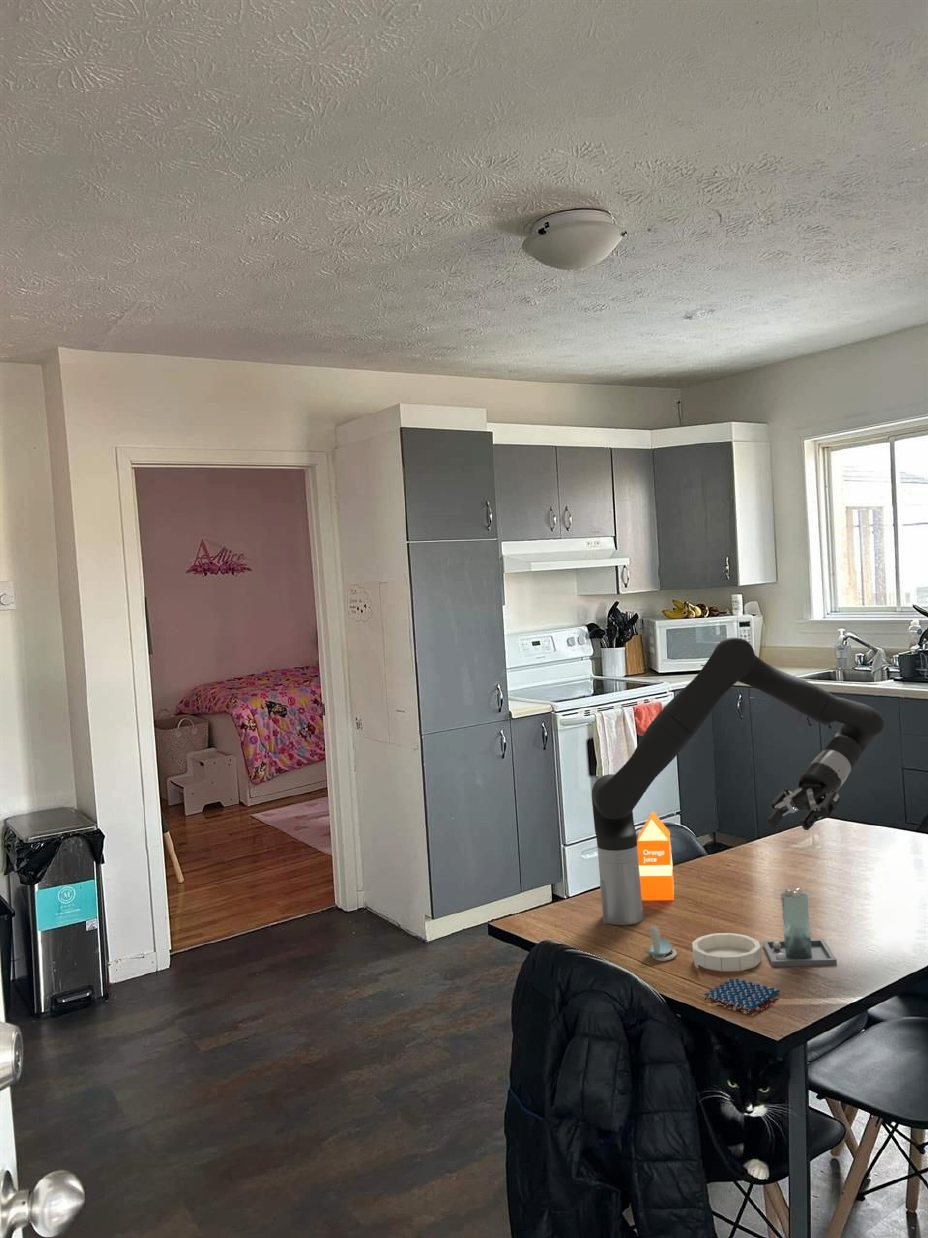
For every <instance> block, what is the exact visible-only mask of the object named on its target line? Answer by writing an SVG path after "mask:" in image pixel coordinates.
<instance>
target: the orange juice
mask: <svg viewBox="0 0 928 1238" xmlns="http://www.w3.org/2000/svg"><path fill="white" fill-rule="evenodd" d="M637 846H638V858H639V870H640V882H641V894H642V901H674V897H675V895H674V894H675V882H674V881H675V880H674V870H673V869H674V868H673V857H672V856H673V855H672V844H671V832H670V830H669V828H667V826H666V825H665V824H664V823H663V822H662V821H661V819H660V818H659V817H658V815H657V814H656V813H655V812H654V810H652V811H651V814H650V815H649V817H648V819H647V820H646V822H645V823H644V825H643V827H642V828H641V830H640V831H639V832H638V836H637Z"/></svg>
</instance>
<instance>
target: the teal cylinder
mask: <svg viewBox="0 0 928 1238" xmlns="http://www.w3.org/2000/svg"><path fill="white" fill-rule="evenodd" d="M780 900H781V901H780V902H781V914H782V927H783V939H784V941H785V954H786V956H787V957H788V958H791V959H809V958H811V957H812V948H811V939H812V937H811V926H810V925H811V924H810V915H809V914H810V912H809V902H808V901H809V899H808V893H806V892H803V890H801V888H797V887H796V888H794V889H793V890H792V889H786V890H784V892H783V893H781V894H780Z"/></svg>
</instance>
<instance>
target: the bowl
mask: <svg viewBox="0 0 928 1238" xmlns="http://www.w3.org/2000/svg"><path fill="white" fill-rule="evenodd" d="M691 948H692V957H693V964H694V967H695V968H697V969H699V966H700V967H702V968H704V969H706V970H712V971H717V972H740V971H741V972H742V971H746V970H749V969H752V968H755V967H757V966H758V965H759V964H760V963H761V962H762V947H761V944H760V942H759V940H757V939H756V938H753V937H751V936H748V935H745V934H740V933H733V932H725V933H724V932H721V933H719V932H718V933H710V934H705V935H703V936H699V937H697V938H696V939H695V940H694V941H692V942H691Z"/></svg>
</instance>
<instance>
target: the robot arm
mask: <svg viewBox="0 0 928 1238" xmlns="http://www.w3.org/2000/svg"><path fill="white" fill-rule="evenodd" d="M737 682H738V683H742V684H744V685H747V686H750V687H752V688H754V689H756V690H759V691H760V692H763V693H765V694H767V695H769V696H771V697H773V698H774V699H776V700H777V701H780V702H781V703H783V704H785V705H787V706H788V707H790V708H792V709H793V710H795V711H797V712H798V713H801V714H802V715H804V716H806V717H807V718H810V719H811V720H813V721H815V722H817V723H818V724H821V725H824V726H827V725H830V724H832V723H835V722H837V723H840V724H841V726H840V727H839V729H838V730H837V732H836V733H835V735H834V737H833V738H832V739H831V740H830V741H829V742H828V743H827V744H826V745H825V747H824V748H823V750H822V751H821V752H820V753H819V754H818V755H817V756H816V757H815V758H814V759H813V760H812V761H811V763H810V764H809V765H808V767H807V768H806V769H805V770H804V772H803V773H802V775H801V776H800V777H799V780H798V781H799V782H798V786H797V787H796V788H795V789H794V790H789V789H788V787H784V788H782V789H781V790H780V791H779V793H777V795H775V798H773V800H772V801H771V802H770V803H769V807H770V808H771V810H772V812H771V814H770V815H769V816H768V817H767V822H768V825H769V826H770V827H771V828H777V827H778V825H779V823H781V821H782V820H783V818H784V817H785V816H786V815H789V814H794V813H796V812H797V811H798V812H799V810H800V811H801V810H805V811H807V812H806V813H805V815H804V816H803V817H802V819H801V820H800V825H801V827H802V828H803V830H804V831H809V829H811V828H812V827H813V826H814V825H815V823H816V822H817V820H820V819H822V817H825V818H829V817H831V816H832V814H833V812H834V811H835V809H836V808H837V807H838V805H839V803H841V797H840V795H839V793H838V791H839V790H840V788H841V787H842V785H843V784H844V783H845V781H846V780H847V778H848V777H849V775H850V773H851V771H852V770H853V769H854V767H855V766H856V764H857V763H858V762H859V760H860V759H861V755H862V754H863V753H864V752H865V750H866V749H867V748H869V745H870V744H872V743H873V741H874V740H875V739H876V738H877V737H878V736H879V735H880V734H881V733H882V732H883V729H884V727H885V721H884V718H883V717H882V715H881V714H880V712H878V711H877V710H876V709H875V708H873V707H872V706H870V705H867V704H865V703H861V702H858V701H854V700H850V699H848V698H847V699H846V698H843V697H839V696H836V695H834V694H832V693H831V692H829V691H827V690H825V689H823V688H821V687H819V686H817V685H815V684H813V683H811V682H809V681H806V680H805V679H802V678H800V677H797V676H795V675H792V674H790V673H787V672H785V671H783V670H780V669H778V668H776V667H774V666H773V665H771V664H769V663H767V662H765V661H764V660H762V659H761V658H760V657H758V656H757V655H756V653H755V650H754V648H753V646H752V644H751V643H750V642H749V641H748V640H746V639H744V638H742V637H738V636H737V637H736V636H734V637H733V636H732V637H727V638H725V639H723V640H721V641H720V642H719V643H718V644H717V645H716V646H715V648H714V649H713V652H712V654H711V655H710V657H709V658H708V659H707V661H706V662H705V664H704V665H703V667H702V668H701V669H700V671H699V672H698V674H697V675H696V676H695V677H694V678H693V679H692V680H691V681H690V682H689V683H688V684H687V685H686V686H685V687H684V688H683V689H681V690H680V691H679V692H678V693H677V694H676V695H675V696H674V697H673V698H672V699H670V701H669V702H668V703H667V704H666V705H665V706H664V707H663V708H662V709H661V711H660V712H659V713H658V714H657V715H656V716H655V717H654V718H653V720H652V721H651V722H650V724H649V725H648V727H646V729H645V731H644V733H643V734H642V736H641V738H640V740H639V742H638V744H637V746H636V748H635V750H634V751H633V753H632V755H631V756H630V757H629V759H628V760H627V761H626V763H624V765H622V766H621V768H620V769H619V770H618V771H617V772H615V774H613V773H610V774H609V773H608V774H604V775H602V776H600V777H599V778H598V779H597V780H596V781H595V782H594V784H593V786H592V789H591V803H592V815H593V816H592V817H593V824H594V832H595V833H594V834H595V837H596V846H597V857H598V871H599V885H600V888H599V889H600V899H601V908H602V909H601V910H602V920H603V924H605V925H606V924H610V925H616V926H630V925H635V924H639V923H640V922H641V921H643V920H644V907H643V900H642V892H641V880H640V870H639V856H638V844H637V840H638V836H637V830H636V827H635V820H634V812H633V810H634V809H635V807H636V806H637V804H638V803H639V802H640V800H641V799H642V797H643V795H644V794H645V793H646V792H647V790H648V789H649V787H650V786H651V784H652V783H653V782H654V780H655V779H656V778H657V777H658V776H659V775H660V774H661V773H662V772H663V771H664V770H665V769H666V768H667V767H668V766H669V765H670V763H671V762H672V761H673V760H674V759H675V758H676V757H677V756H678V754H680V753H681V752H682V750H684V748H685V747H686V746H687V745H688V744H689V743H690V741H691V740H692V739H693V738H694V737H695V735H696V734H697V733H698V732H699V730H700V729H701V727H703V725H704V723H705V722H706V721H707V719H708V718H709V716H710V715H711V713H712V712H713V710H714V708H715V707H716V705H717V704H718V702H720V700H721V699H722V697H724V695H725V694H726V693H727V692H728V691H729V690H730V689H731V688H732V687H733V686H734V685H735V684H736V683H737ZM790 802H792V803H793V806H792V804H791V803H790ZM785 807H786V808H785ZM784 808H785V809H784Z"/></svg>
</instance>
